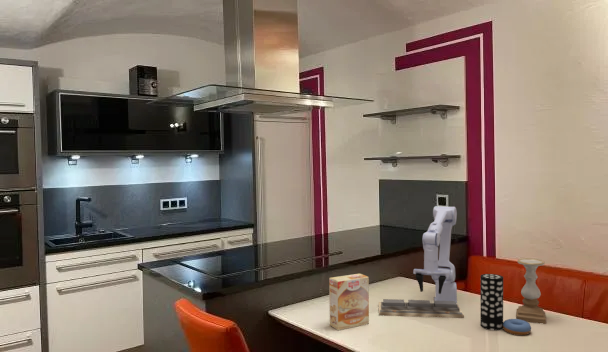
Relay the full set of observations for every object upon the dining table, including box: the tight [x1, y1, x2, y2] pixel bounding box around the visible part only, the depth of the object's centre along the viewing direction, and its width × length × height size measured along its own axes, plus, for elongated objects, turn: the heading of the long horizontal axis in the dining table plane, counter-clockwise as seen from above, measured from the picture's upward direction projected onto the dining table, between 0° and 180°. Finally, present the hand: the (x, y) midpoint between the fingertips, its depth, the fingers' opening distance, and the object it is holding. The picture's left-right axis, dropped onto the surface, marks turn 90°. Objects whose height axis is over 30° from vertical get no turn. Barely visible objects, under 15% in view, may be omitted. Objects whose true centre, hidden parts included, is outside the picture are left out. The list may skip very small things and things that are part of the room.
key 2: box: [433, 299, 458, 308], centre depth 208 cm, size 9×5×2 cm, turn 82°
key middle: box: [408, 299, 431, 307], centre depth 209 cm, size 9×5×2 cm, turn 82°
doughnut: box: [502, 318, 532, 336], centre depth 184 cm, size 10×10×5 cm
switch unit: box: [378, 301, 465, 319], centre depth 210 cm, size 35×15×3 cm, turn 82°
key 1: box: [382, 298, 405, 306], centre depth 211 cm, size 9×5×2 cm, turn 82°
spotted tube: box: [479, 273, 504, 331], centre depth 189 cm, size 8×8×20 cm
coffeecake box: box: [328, 273, 370, 331], centre depth 194 cm, size 15×7×20 cm, turn 117°
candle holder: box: [515, 257, 547, 325], centre depth 198 cm, size 11×11×24 cm
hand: (430, 292), depth 205 cm, fingers open, 7 cm apart
